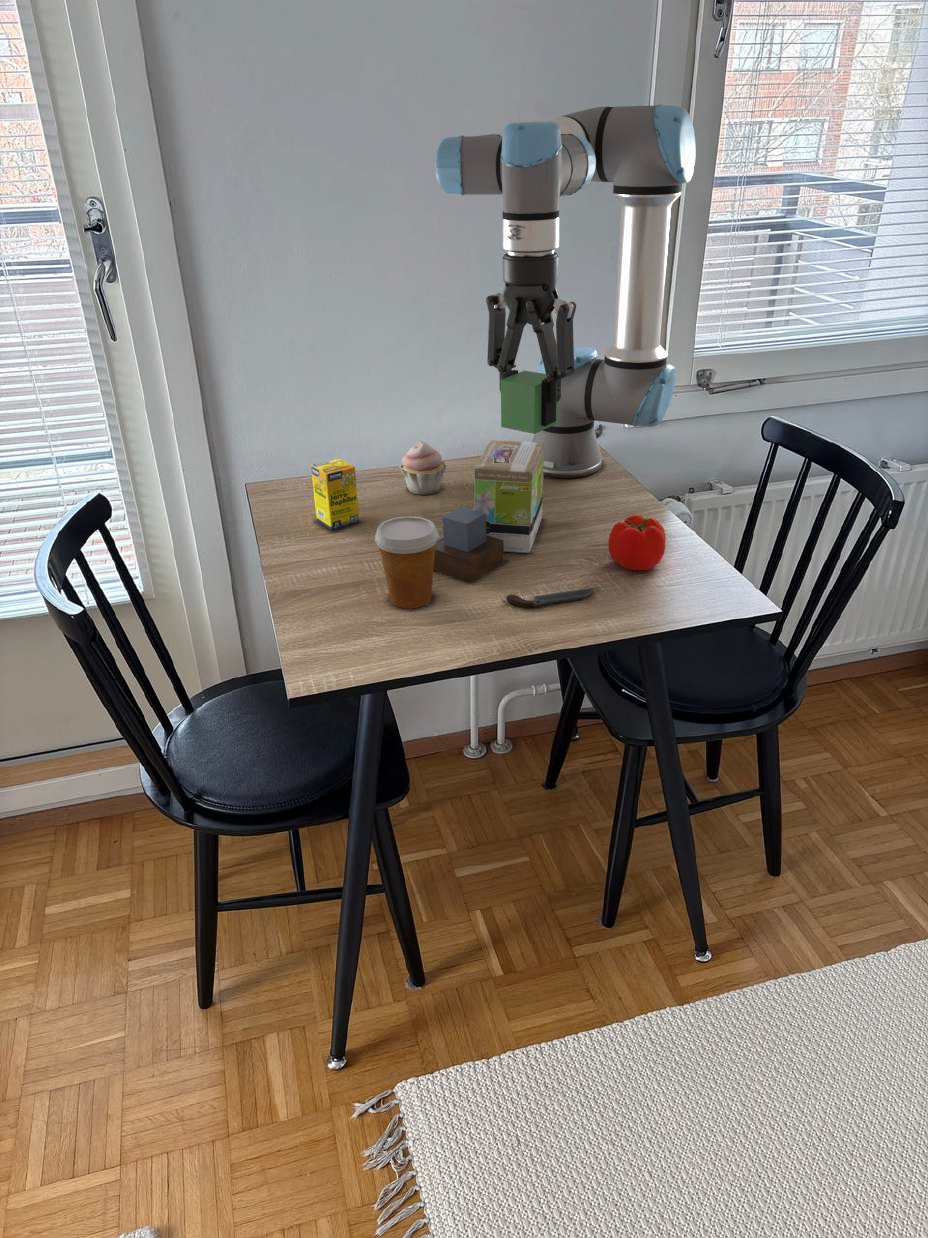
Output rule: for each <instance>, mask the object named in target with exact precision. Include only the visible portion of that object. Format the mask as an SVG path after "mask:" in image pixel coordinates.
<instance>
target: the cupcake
mask: <svg viewBox="0 0 928 1238" xmlns="http://www.w3.org/2000/svg"><path fill="white" fill-rule="evenodd" d="M401 463H402V464H401V465H399V466H398V468H399V469H400V472H401V474H402V475H403V476H404V480H405V483H406V487H407V489H408V491H409V492H410V493H411V494H414V495H419V496H420V495H421V496H424V495H425V496H426V495H432V494H435V493H438V492H439V491H440V489H441V487H442V481H443V479H444V474H445V472H446V469H447V467H448V466H447V464H446V461H443V457H442V456H441V454H440V452H439V451H438V450H436V449H435V448H433V447H432V446H431V444H429V443H428V442H426V441H423V440H421V439H420V440H419V441H418V444H417V445H415V446H413V447H411V448H410V449H409V450H408V451H407V452H406V454H405V455H404V456H403V457H402V460H401Z"/></svg>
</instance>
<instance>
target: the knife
mask: <svg viewBox="0 0 928 1238" xmlns="http://www.w3.org/2000/svg"><path fill="white" fill-rule="evenodd" d="M595 590H596V587H595V586H593V587H588V588H580V589H573V590H566V591H559V592H555V593H554V592H553V593H547V594H546V593H545V594H540V595H534V597H533V598H534V600H530V599H524V598H522V597H520V596H519V595H517V594H508V595H507V596H506V600H507V602H508V603H510V604H512V605H515V606H519V607H522V608H534V607H539V606H544V605H549V604H555V603H562V602H568V601H575V600H582V599H586V597H588V596H589V595H591V594H592V593H593V592H594V591H595Z"/></svg>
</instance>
